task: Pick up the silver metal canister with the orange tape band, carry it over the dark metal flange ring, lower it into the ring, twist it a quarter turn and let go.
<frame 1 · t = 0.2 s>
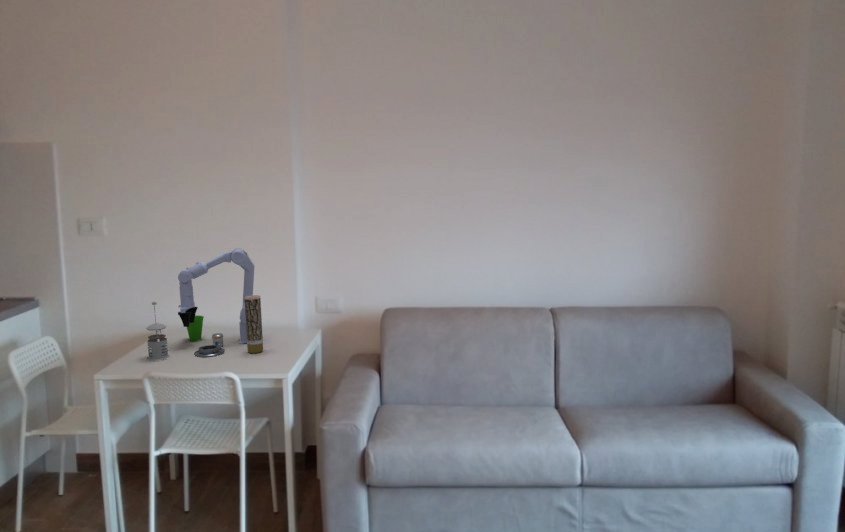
hand: (189, 324, 295), 10 cm above the table, tool pointing down, fingers open, 7 cm apart
silver metal canister: (218, 347, 293), on the table
french press: (158, 357, 278), on the table
paper tube: (255, 352, 285), on the table
flange ring: (209, 353, 284), on the table
cup: (195, 340, 306), on the table
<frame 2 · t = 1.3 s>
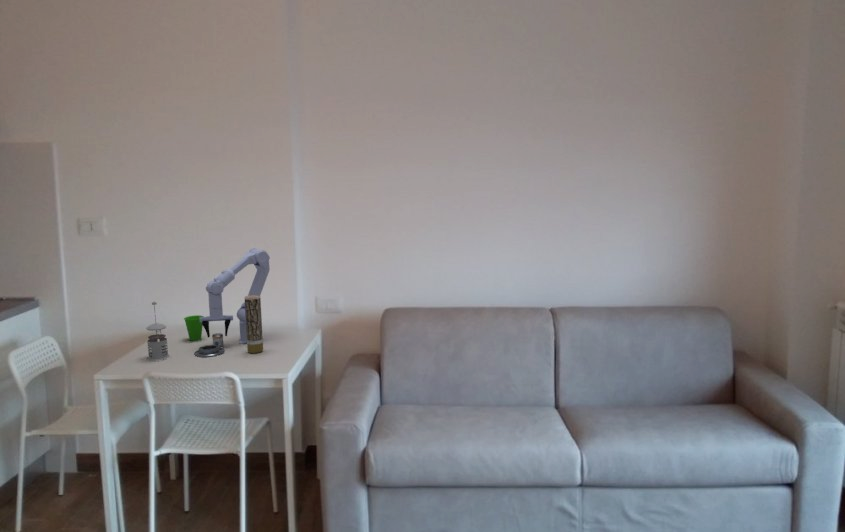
hand: (217, 336, 292), 5 cm above the table, tool pointing down, fingers open, 7 cm apart
nothing on the table moved.
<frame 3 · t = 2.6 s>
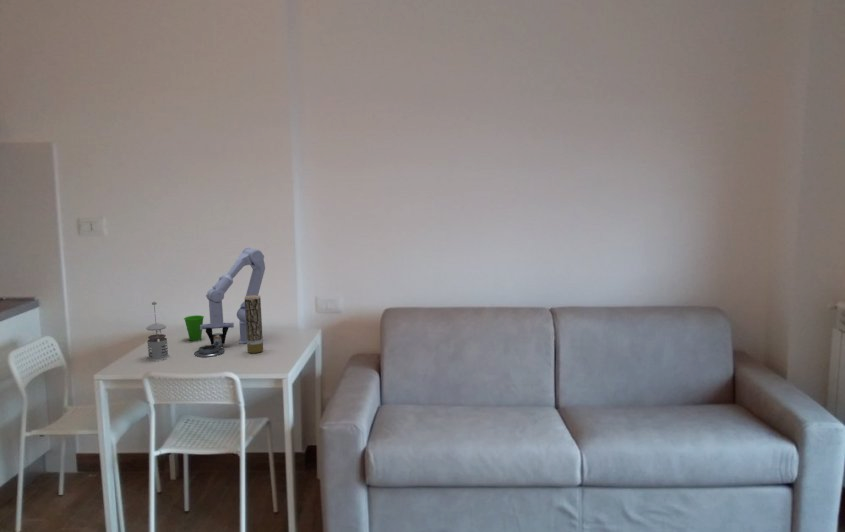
hand: (218, 343, 293), 2 cm above the table, tool pointing down, fingers closed on silver metal canister, 4 cm apart
silver metal canister: (218, 347, 293), on the table, touching gripper
everything else where it was.
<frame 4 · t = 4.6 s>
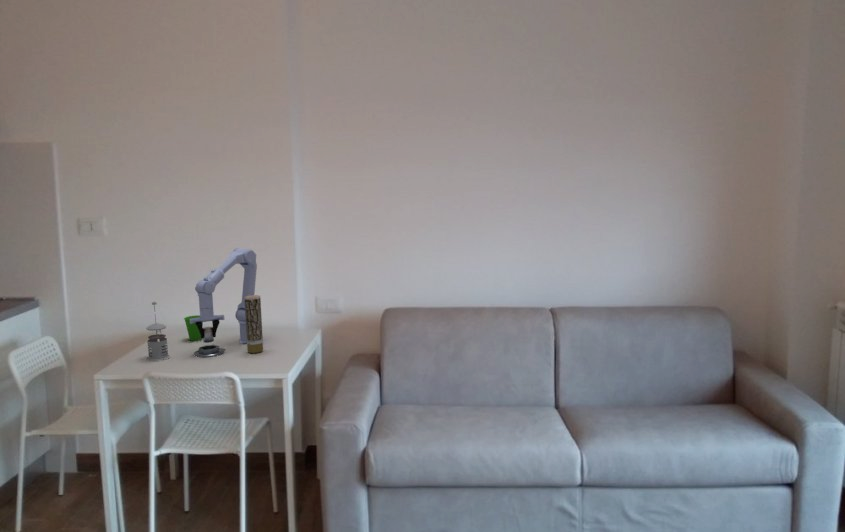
hand: (208, 337, 283), 7 cm above the table, tool pointing down, fingers closed on silver metal canister, 5 cm apart
silver metal canister: (208, 341, 283), point 5 cm above the table, touching gripper
everything else where it was.
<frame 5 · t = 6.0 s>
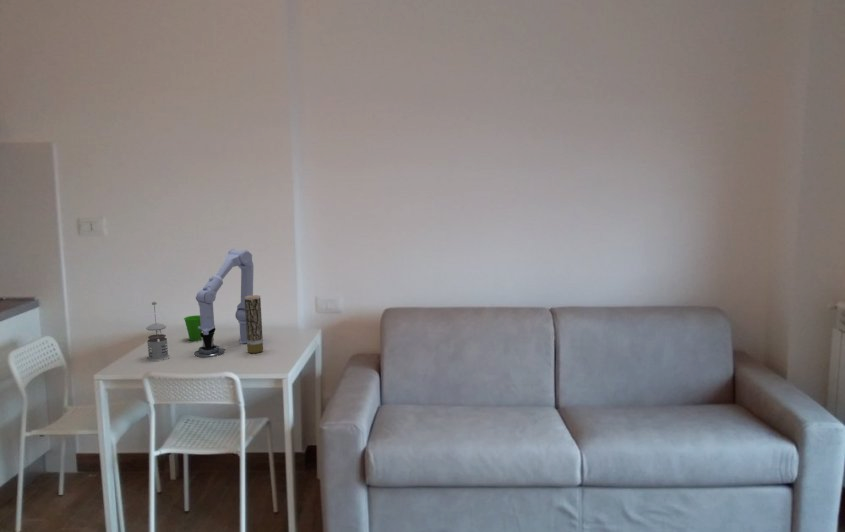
hand: (209, 346, 283), 3 cm above the table, tool pointing down, fingers closed on silver metal canister, 5 cm apart
silver metal canister: (208, 350, 284), point 1 cm above the table, touching gripper
everything else where it was.
when the fingers open (3 cm above the table, at t = 6.9 s): silver metal canister stays where it is, resting on flange ring.
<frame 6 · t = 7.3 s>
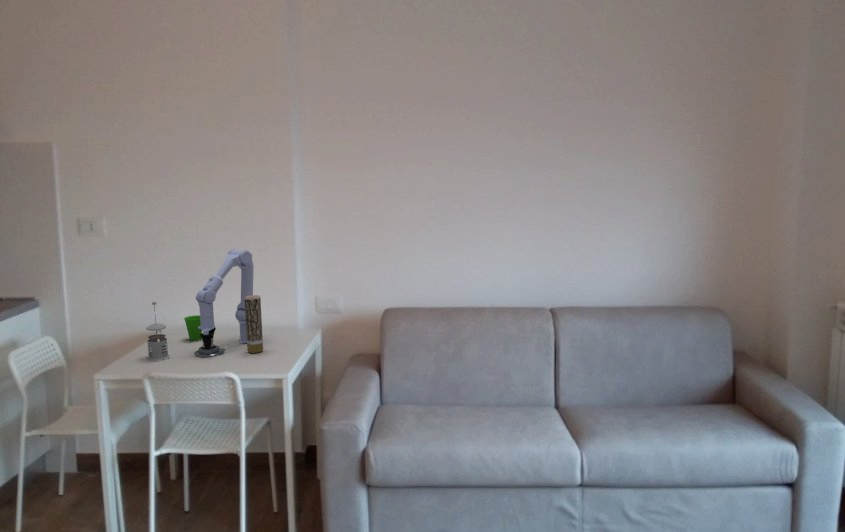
hand: (209, 346, 283), 3 cm above the table, tool pointing down, fingers open, 7 cm apart
silver metal canister: (208, 351, 284), point 1 cm above the table, touching flange ring
everything else where it was.
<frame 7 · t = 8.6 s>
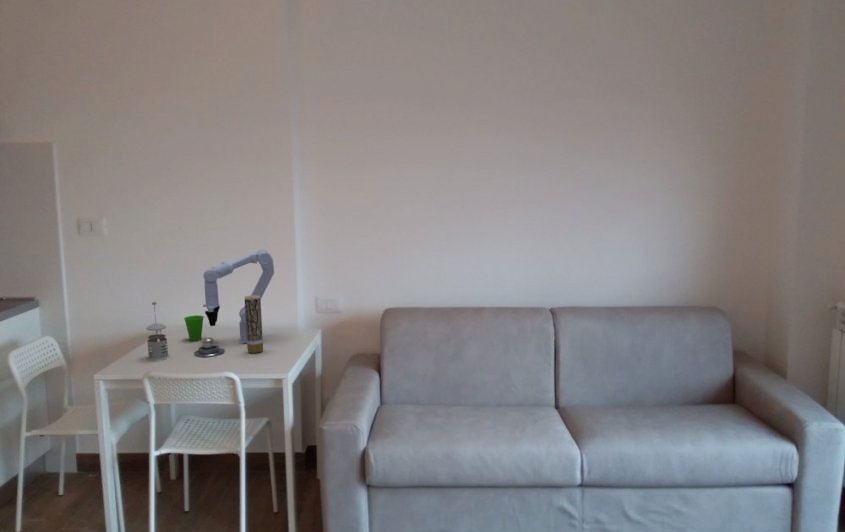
hand: (213, 323, 296), 10 cm above the table, tool pointing down, fingers open, 7 cm apart
nothing on the table moved.
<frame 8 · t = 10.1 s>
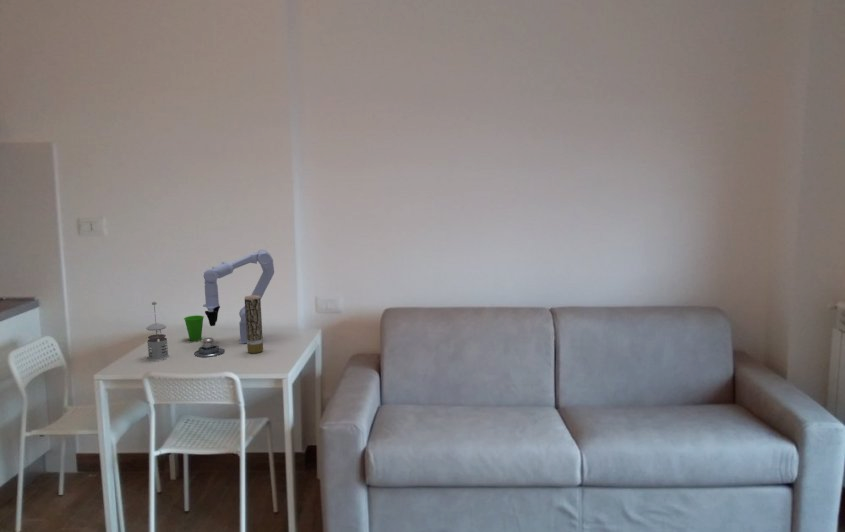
hand: (213, 323, 296), 10 cm above the table, tool pointing down, fingers open, 7 cm apart
nothing on the table moved.
at the end: silver metal canister 0.3 cm off-centre on the flange ring, point 0.5 cm above the flange ring's base; silver metal canister tilted 0°; the gripper is holding nothing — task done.
